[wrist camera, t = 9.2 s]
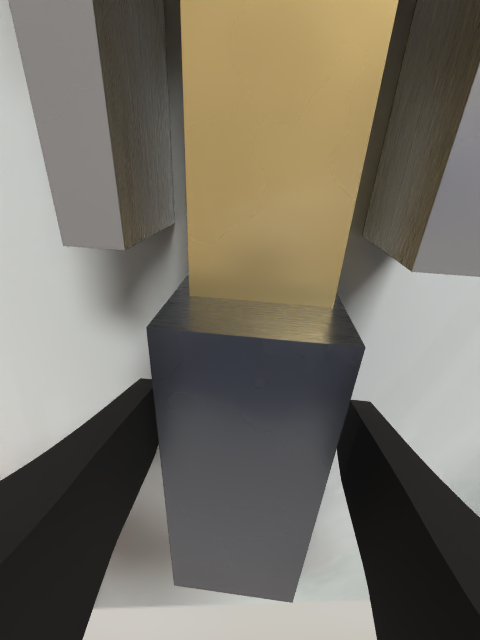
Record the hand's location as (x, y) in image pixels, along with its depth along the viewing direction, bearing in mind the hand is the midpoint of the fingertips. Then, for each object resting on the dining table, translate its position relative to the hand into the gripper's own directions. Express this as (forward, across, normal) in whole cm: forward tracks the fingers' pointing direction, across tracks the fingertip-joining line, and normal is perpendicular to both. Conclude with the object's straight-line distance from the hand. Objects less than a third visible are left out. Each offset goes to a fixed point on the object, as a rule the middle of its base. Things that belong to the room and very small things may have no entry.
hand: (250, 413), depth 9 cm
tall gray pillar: (+2, 0, +1) cm, 2 cm away
